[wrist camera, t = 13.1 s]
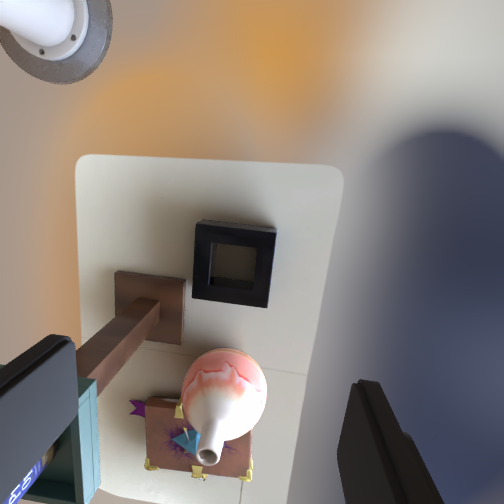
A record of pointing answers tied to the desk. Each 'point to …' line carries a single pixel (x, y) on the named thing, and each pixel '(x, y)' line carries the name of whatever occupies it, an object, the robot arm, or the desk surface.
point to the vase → (222, 399)
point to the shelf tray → (73, 456)
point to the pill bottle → (32, 475)
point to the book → (187, 443)
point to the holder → (227, 288)
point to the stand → (134, 324)
